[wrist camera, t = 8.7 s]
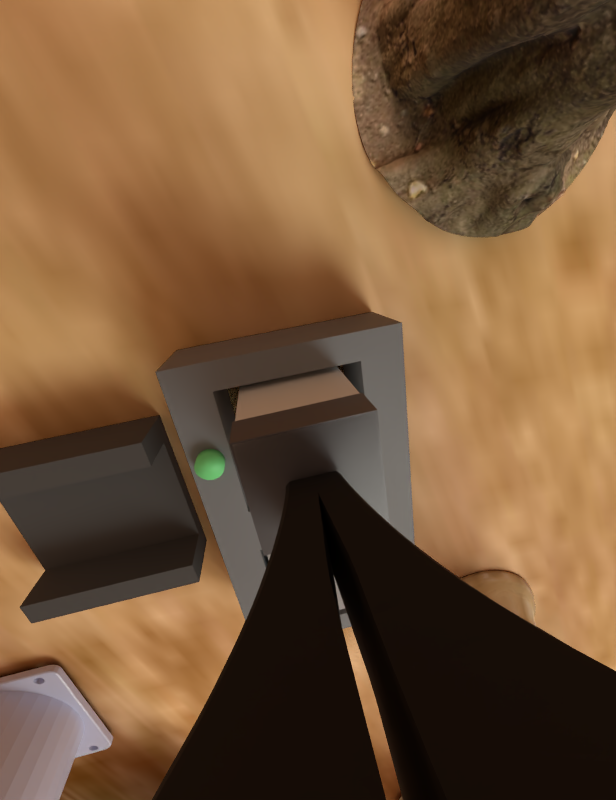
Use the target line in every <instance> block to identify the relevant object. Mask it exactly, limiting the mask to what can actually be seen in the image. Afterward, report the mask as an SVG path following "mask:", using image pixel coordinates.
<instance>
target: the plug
mask: <svg viewBox="0 0 616 800" xmlns="http://www.w3.org/2000/svg"><path fill="white" fill-rule="evenodd" d="M229 445H230V448H231V451H232V454H233V458H234V461H235V464H236V467H237V471H238V474H239V477H240V480H241V483H242V487H243V490H244V493H245V496H246V500H247V503H248V506H249V509H250V513H251V516H252V519H253V522H254V526H255V529H256V532H257V535H258V538H259V542H260V545H261V548H262V551H263V555H264V556H265V555H269V554H271V552H272V549H273V546H274V542H275V539H276V535H277V531H278V528H279V524H280V520H281V516H282V511H283V506H284V501H285V493H286V485H287V484H288V483H289V482H290V481H294V480H298V479H303V478H307V477H311V476H316V475H320V474H324V473H329V472H333V471H337V472H339V473H340V474H341V475H342V476H343V477H344V479H345V480H346V481H347V482H348V483H349V484H350V486H351V487H352V488H353V489H354V490H355V491H356V492H357V493H358V494H359V495H360V496H361V497H362V498H363V499H364V500H365V501H366V502H367V503H368V504H369V505H370V506H371V507H372V508H373V509H374V510H375V511H376V512H377V513H378V514H380V515H381V516H382V517H383V518H384V519H385V520H386V521H387V522H388V523H389V516H388V506H387V497H386V487H385V478H384V468H383V458H382V449H381V439H380V430H379V420H378V410H377V409H376V408H375V406H374V405H373V404H372V403H371V402H370V401H369V400H368V398H367V397H366V396H365V395H364V394H363V393H359V392H358V391H357V389H356V388H355V387H354V386H353V385H352V383H351V382H350V381H349V380H348V379H347V378H346V376H345V375H344V374H343V373H342V372H341V370H340V369H339V368H338V367H337V366H334V367H329V368H325V369H320V370H315V371H310V372H305V373H301V374H296V375H291V376H286V377H281V378H276V379H272V380H267V381H262V382H257V383H252V384H247V385H243V386H240V387H239V395H238V402H237V410H236V417H235V421H234V422H232V428H231V434H230V441H229Z"/></svg>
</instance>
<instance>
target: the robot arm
mask: <svg viewBox="0 0 616 800" xmlns="http://www.w3.org/2000/svg"><path fill="white" fill-rule="evenodd" d="M334 577H335V579H334ZM335 580H336V583H337V586H338V589H339V592H340V595H341V597H342V600H343V603H344V606H345V609H346V612H347V615H348V618H349V620H350V623H351V626H352V629H353V632H354V635H355V638H356V640H357V643H358V646H359V649H360V652H361V655H362V658H363V661H364V663H365V666H366V669H367V672H368V675H369V678H370V681H371V685H372V688H373V691H374V694H375V697H376V701H377V704H378V708H379V712H380V716H381V719H382V723H383V727H384V730H385V734H386V738H387V742H388V745H389V749H390V753H391V756H392V760H393V764H394V768H395V771H396V775H397V779H398V783H399V786H400V790H401V794H402V798H403V800H616V671H614V670H613V669H611V668H609V667H607V666H605V665H603V664H601V663H600V662H598V661H596V660H594V659H592V658H590V657H589V656H587V655H585V654H583V653H581V652H579V651H577V650H576V649H574V648H572V647H570V646H569V645H567V644H565V643H564V642H562V641H560V640H558V639H557V638H555V637H553V636H552V635H550V634H548V633H547V632H545V631H543V630H542V629H540V628H538V627H536V626H535V625H533V624H531V623H530V622H528V621H526V620H525V619H523V618H521V617H520V616H518V615H516V614H514V613H513V612H511V611H509V610H508V609H506V608H504V607H503V606H501V605H499V604H498V603H496V602H495V601H493V600H492V599H490V598H489V597H487V596H486V595H484V594H483V593H481V592H479V591H478V590H476V589H475V588H473V587H472V586H470V585H469V584H467V583H466V582H464V581H463V580H462V579H460V578H459V577H457V576H456V575H454V574H453V573H452V572H450V571H449V570H447V569H446V568H444V567H443V566H442V565H440V564H439V563H438V562H436V561H435V560H434V559H432V558H431V557H430V556H428V555H427V554H426V553H424V552H423V551H422V550H421V549H419V548H418V547H417V546H416V545H414V544H413V543H412V542H411V541H409V540H408V539H407V538H406V537H405V536H403V535H402V534H401V533H400V532H399V531H397V530H396V529H395V528H394V527H393V526H392V525H390V524H389V523H388V522H387V521H386V520H385V519H384V518H383V517H382V516H381V515H380V514H378V513H377V512H376V511H375V510H374V509H373V508H372V507H371V506H370V505H369V504H368V503H367V502H366V501H365V500H364V499H363V498H362V497H361V496H360V495H359V494H358V493H357V492H356V491H355V490H354V489H353V488H352V487H351V486H350V484H349V483H348V482H347V481H346V480H345V479H344V477H343V476H342V475H341V474H340V473H339V472H337V471H333V472H329V473H324V474H320V475H316V476H311V477H307V478H303V479H298V480H294V481H290V482H289V483H288V484H287V485H286V493H285V501H284V506H283V511H282V516H281V520H280V524H279V528H278V531H277V535H276V539H275V542H274V546H273V549H272V552H271V555H270V558H269V561H268V564H267V567H266V570H265V573H264V575H263V578H262V581H261V584H260V587H259V589H258V592H257V594H256V597H255V599H254V602H253V604H252V607H251V609H250V612H249V614H248V616H247V619H246V621H245V623H244V625H243V628H242V630H241V632H240V635H239V637H238V639H237V641H236V643H235V645H234V648H233V650H232V652H231V654H230V656H229V658H228V660H227V662H226V664H225V666H224V668H223V670H222V672H221V674H220V676H219V678H218V680H217V682H216V685H215V686H214V688H213V690H212V692H211V694H210V696H209V698H208V700H207V702H206V704H205V706H204V708H203V710H202V711H201V713H200V715H199V717H198V719H197V721H196V722H195V724H194V726H193V728H192V730H191V731H190V733H189V735H188V737H187V738H186V740H185V742H184V744H183V746H182V747H181V749H180V751H179V753H178V754H177V756H176V758H175V760H174V762H173V763H172V765H171V767H170V769H169V770H168V772H167V774H166V776H165V777H164V779H163V781H162V783H161V785H160V786H159V788H158V790H157V792H156V793H155V795H154V797H153V799H152V800H386V798H385V794H384V790H383V786H382V782H381V778H380V774H379V771H378V767H377V763H376V759H375V755H374V751H373V747H372V743H371V739H370V736H369V732H368V728H367V724H366V720H365V716H364V712H363V708H362V704H361V700H360V697H359V693H358V689H357V685H356V681H355V677H354V673H353V669H352V665H351V661H350V657H349V653H348V649H347V645H346V641H345V637H344V633H343V629H342V624H341V617H340V611H339V605H338V598H337V592H336V585H335ZM112 740H113V736H112V735H111V733H110V732H109V731H108V729H107V728H106V727H105V725H104V724H103V723H102V721H101V720H100V719H99V717H98V716H97V715H96V713H95V712H94V711H93V709H92V708H91V707H90V705H89V704H88V703H87V701H86V700H85V698H84V697H83V696H82V694H81V693H80V692H79V690H78V689H77V688H76V686H75V685H74V684H73V682H72V681H71V680H70V678H69V677H68V676H67V674H66V673H65V672H64V670H63V669H62V668H61V667H60V666H58V665H47V666H43V667H39V668H36V669H32V670H28V671H24V672H20V673H16V674H12V675H8V676H5V677H1V678H0V800H59V799H60V796H61V794H62V791H63V788H64V785H65V783H66V780H67V777H68V775H69V772H70V769H71V766H72V764H73V761H74V758H77V757H80V756H84V755H87V754H91V753H94V752H98V751H102V750H105V749H108V748H109V747H110V746H111V743H112Z"/></svg>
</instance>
